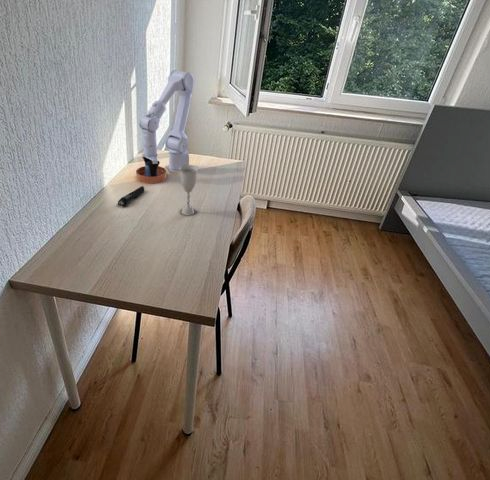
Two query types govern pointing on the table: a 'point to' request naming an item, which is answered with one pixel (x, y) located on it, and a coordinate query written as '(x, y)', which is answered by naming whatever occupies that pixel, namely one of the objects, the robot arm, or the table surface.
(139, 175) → the bowl
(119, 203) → the electric trimmer
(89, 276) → the table surface
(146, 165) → the blue cup
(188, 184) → the chalice
